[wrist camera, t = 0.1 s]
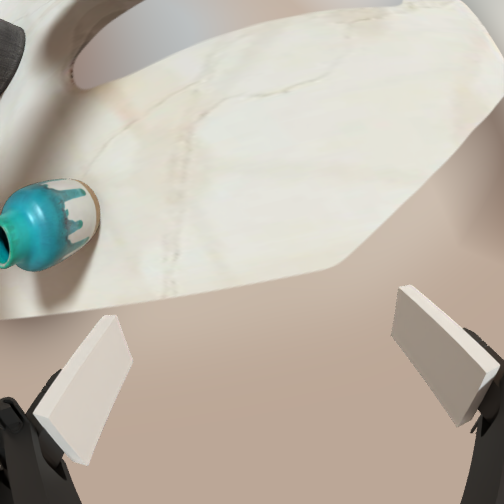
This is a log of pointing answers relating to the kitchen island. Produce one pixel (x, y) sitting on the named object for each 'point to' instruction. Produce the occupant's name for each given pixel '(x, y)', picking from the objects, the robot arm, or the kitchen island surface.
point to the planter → (10, 51)
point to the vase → (47, 223)
